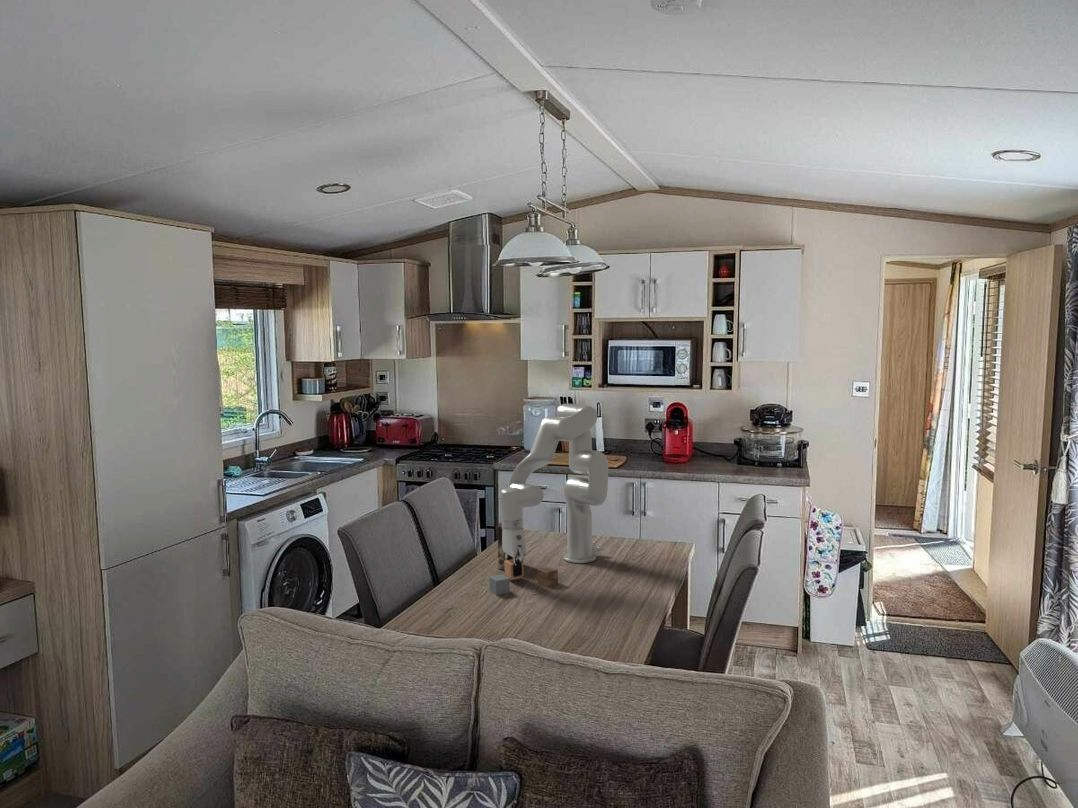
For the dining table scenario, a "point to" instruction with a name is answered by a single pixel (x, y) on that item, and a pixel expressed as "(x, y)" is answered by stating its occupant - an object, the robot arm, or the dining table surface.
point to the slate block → (499, 584)
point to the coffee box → (501, 549)
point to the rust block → (511, 568)
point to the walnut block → (547, 576)
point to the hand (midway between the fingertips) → (514, 573)
